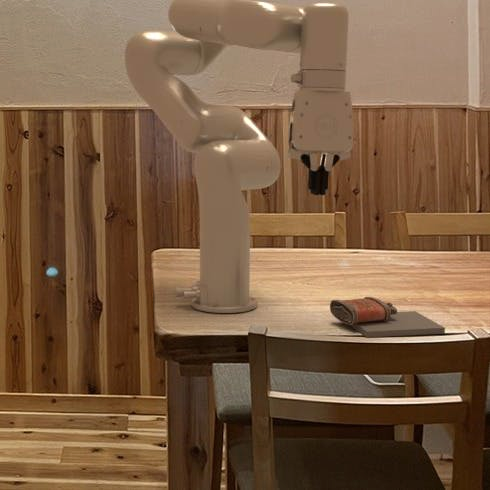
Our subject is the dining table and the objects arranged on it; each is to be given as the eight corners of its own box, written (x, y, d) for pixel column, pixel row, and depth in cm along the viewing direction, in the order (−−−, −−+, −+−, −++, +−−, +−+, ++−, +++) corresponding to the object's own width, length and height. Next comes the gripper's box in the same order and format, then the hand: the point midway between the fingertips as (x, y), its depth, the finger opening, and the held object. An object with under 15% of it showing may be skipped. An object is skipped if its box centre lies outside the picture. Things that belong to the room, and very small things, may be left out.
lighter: (353, 328, 136) (402, 322, 140) (354, 309, 135) (403, 304, 139) (329, 314, 143) (377, 310, 147) (330, 296, 142) (378, 292, 146)
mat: (366, 337, 133) (367, 331, 133) (342, 319, 144) (342, 314, 144) (444, 333, 136) (444, 327, 136) (414, 316, 147) (415, 311, 147)
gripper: (284, 80, 125) (280, 197, 129) (373, 83, 129) (368, 196, 132) (272, 81, 133) (268, 191, 136) (357, 84, 136) (352, 191, 139)
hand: (317, 194), depth 134 cm, fingers closed
